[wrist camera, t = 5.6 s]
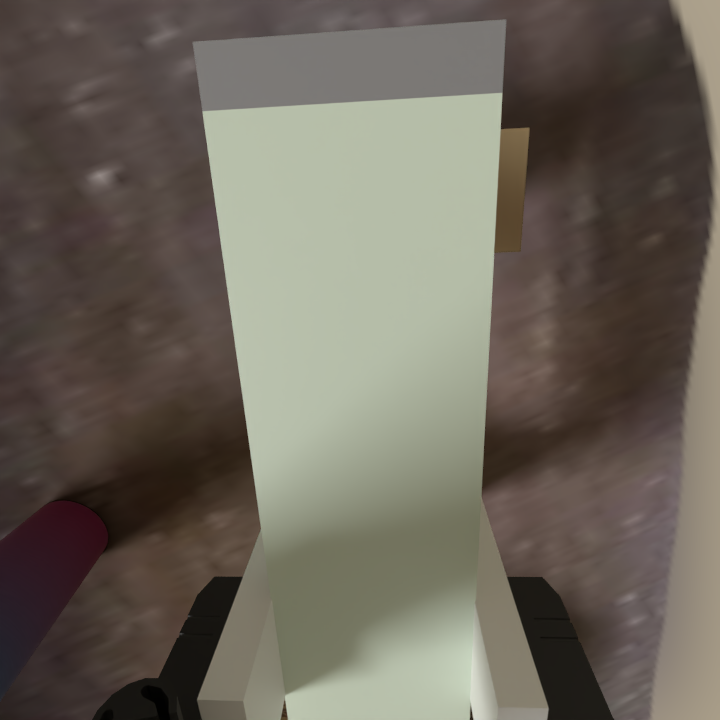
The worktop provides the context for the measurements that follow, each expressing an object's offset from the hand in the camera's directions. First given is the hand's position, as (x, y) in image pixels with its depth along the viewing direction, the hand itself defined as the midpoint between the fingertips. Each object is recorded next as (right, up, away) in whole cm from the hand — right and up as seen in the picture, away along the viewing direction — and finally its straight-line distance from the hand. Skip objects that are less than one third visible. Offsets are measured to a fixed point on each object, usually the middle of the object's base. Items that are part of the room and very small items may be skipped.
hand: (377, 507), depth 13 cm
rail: (0, 0, +1) cm, 1 cm away
